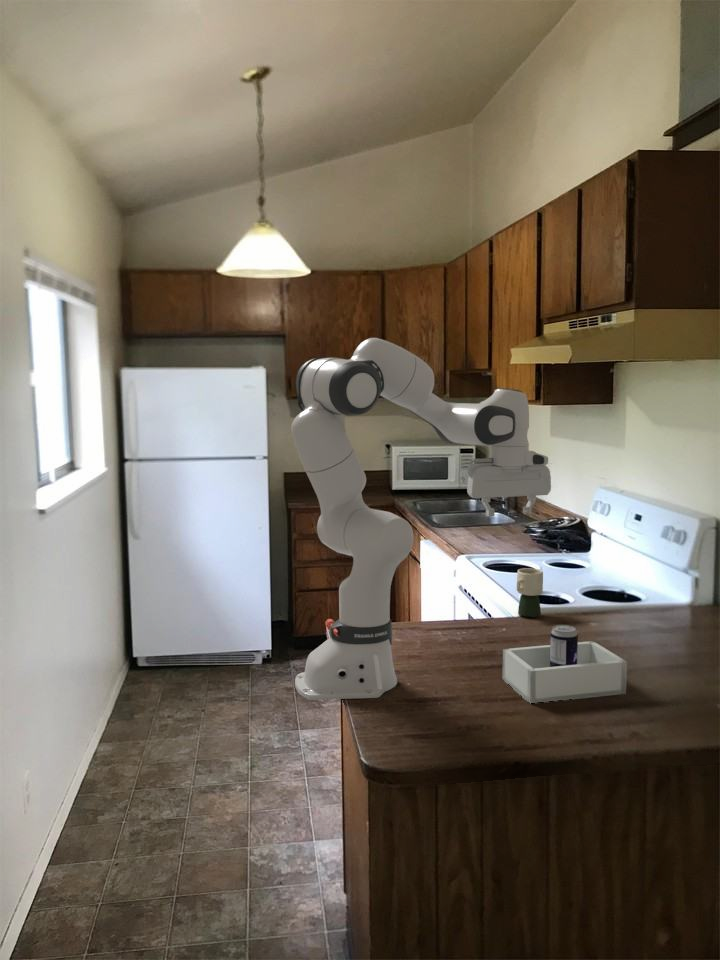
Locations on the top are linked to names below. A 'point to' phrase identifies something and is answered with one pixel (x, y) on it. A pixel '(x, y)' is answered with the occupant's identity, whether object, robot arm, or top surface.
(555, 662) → the beverage can
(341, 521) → the robot arm
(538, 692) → the crate
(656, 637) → the top surface
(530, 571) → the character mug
